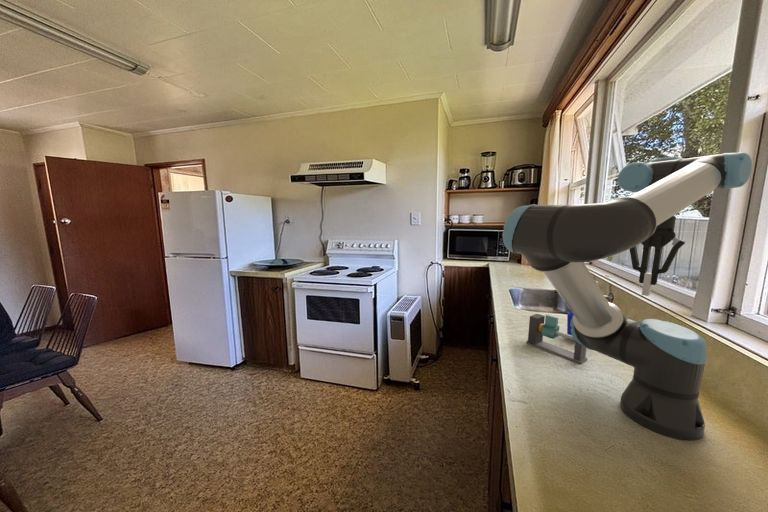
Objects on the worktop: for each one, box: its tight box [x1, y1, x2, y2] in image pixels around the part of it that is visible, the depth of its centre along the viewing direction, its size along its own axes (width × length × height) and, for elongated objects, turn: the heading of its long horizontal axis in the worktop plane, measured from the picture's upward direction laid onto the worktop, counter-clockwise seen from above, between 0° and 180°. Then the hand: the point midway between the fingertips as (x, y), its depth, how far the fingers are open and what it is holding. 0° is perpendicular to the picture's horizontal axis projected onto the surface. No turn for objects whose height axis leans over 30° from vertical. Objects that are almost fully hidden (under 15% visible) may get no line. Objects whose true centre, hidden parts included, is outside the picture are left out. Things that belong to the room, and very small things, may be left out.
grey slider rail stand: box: [525, 313, 588, 365], centre depth 106 cm, size 19×5×11 cm, turn 34°
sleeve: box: [542, 314, 560, 340], centre depth 108 cm, size 4×4×8 cm
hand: (645, 294), depth 87 cm, fingers closed
